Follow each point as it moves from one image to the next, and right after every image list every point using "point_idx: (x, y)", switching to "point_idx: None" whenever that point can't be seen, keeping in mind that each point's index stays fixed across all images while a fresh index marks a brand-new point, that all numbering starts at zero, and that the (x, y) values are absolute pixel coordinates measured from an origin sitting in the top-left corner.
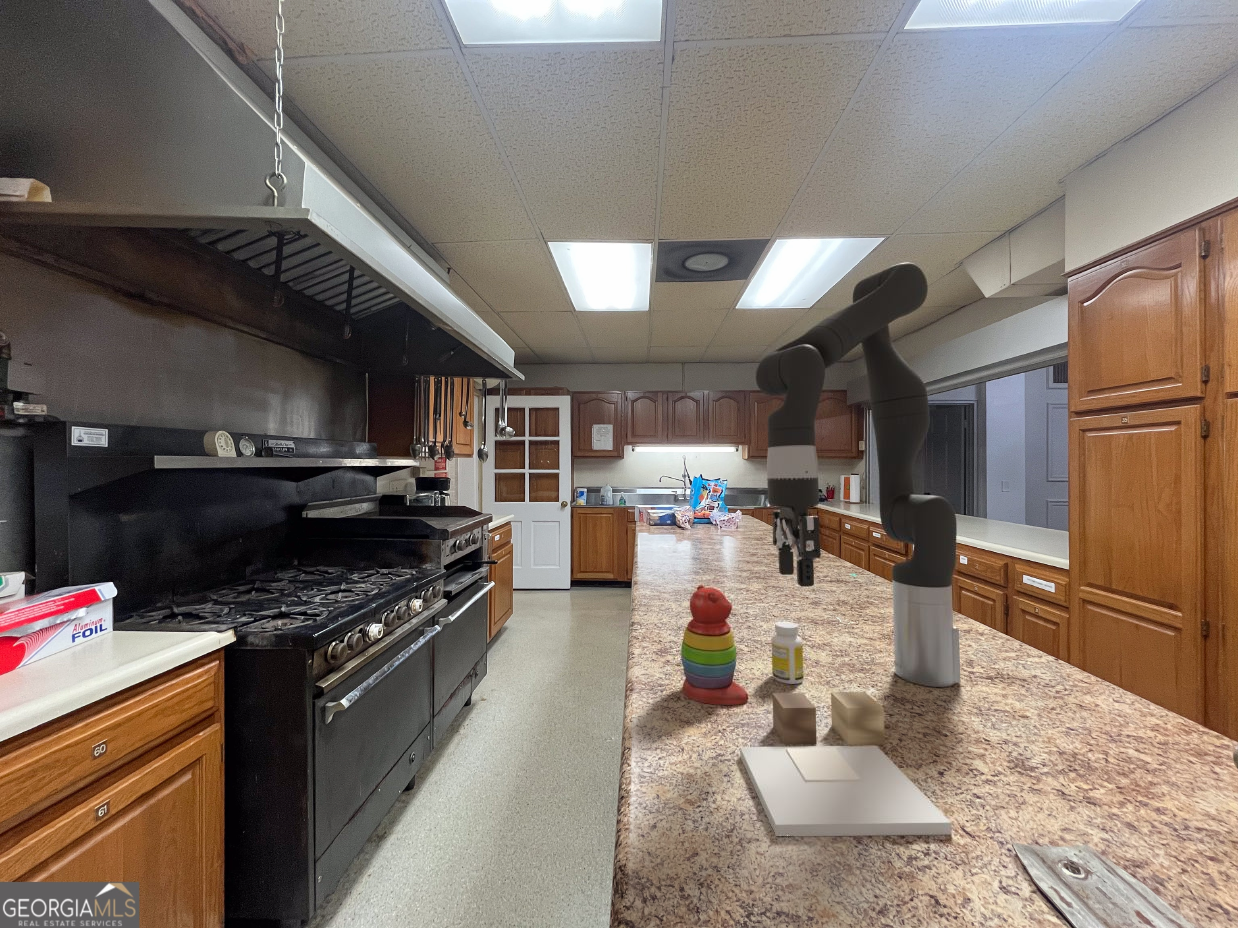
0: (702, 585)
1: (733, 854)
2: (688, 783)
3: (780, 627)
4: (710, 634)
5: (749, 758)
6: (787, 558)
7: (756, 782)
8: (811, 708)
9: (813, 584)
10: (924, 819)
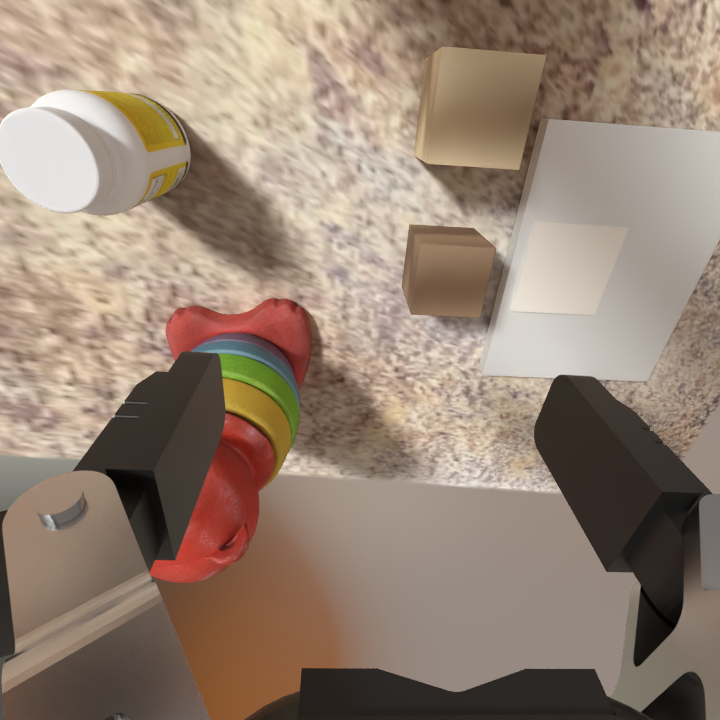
0: None
1: None
2: (517, 438)
3: (91, 203)
4: (273, 464)
5: (514, 370)
6: (184, 463)
7: None
8: (493, 258)
9: (589, 376)
10: None
